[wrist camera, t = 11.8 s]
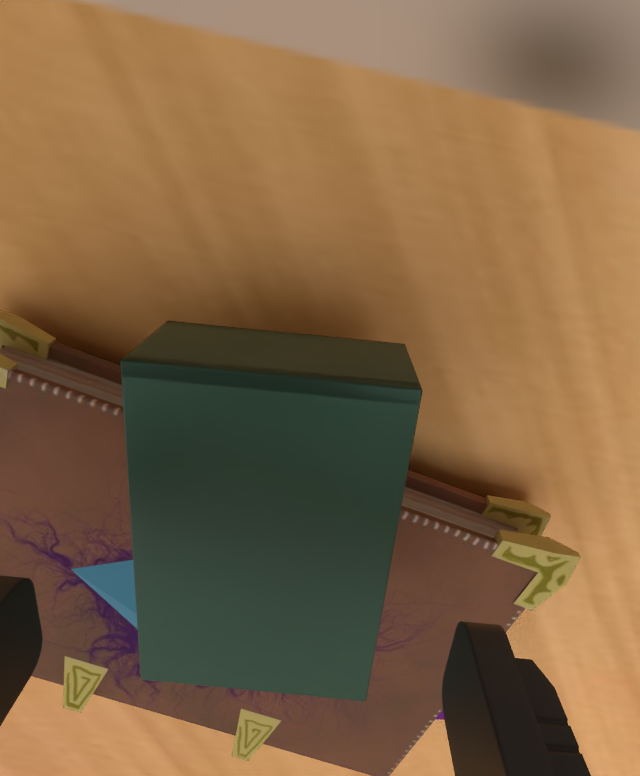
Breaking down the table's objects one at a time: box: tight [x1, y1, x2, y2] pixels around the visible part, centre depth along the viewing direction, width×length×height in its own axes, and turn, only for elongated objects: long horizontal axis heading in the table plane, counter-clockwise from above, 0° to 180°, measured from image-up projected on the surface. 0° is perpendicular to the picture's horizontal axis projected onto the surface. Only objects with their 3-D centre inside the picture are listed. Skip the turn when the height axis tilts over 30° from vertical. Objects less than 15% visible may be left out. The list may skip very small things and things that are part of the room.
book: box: [0, 310, 580, 776], centre depth 19 cm, size 16×25×5 cm, turn 69°
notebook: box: [120, 321, 422, 701], centre depth 13 cm, size 9×6×3 cm, turn 175°
